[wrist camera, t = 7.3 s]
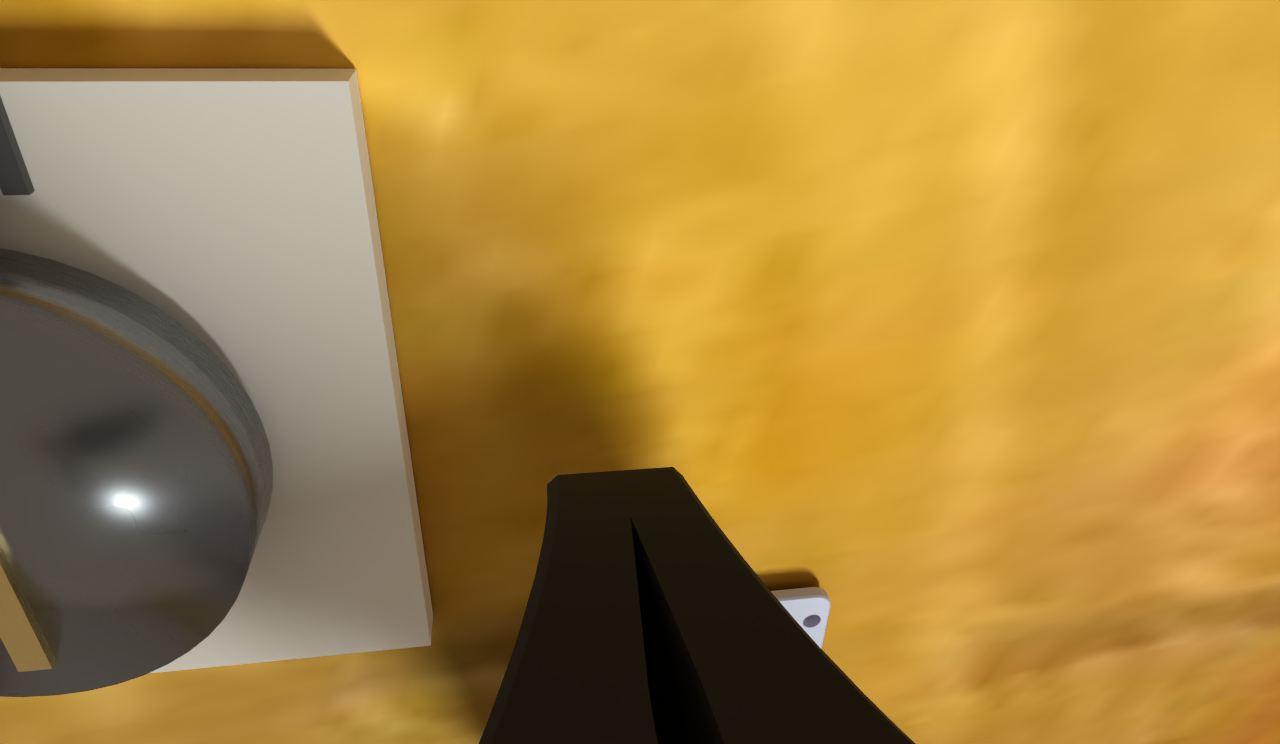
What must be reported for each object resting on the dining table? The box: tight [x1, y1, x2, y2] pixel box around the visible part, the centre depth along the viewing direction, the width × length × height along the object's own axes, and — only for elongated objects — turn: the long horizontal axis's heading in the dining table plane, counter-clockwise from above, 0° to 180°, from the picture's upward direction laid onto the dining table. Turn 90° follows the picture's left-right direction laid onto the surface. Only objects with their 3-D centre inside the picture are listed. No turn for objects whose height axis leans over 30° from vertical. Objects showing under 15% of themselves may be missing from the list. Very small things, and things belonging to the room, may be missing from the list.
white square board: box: [0, 68, 433, 673], centre depth 17 cm, size 14×14×1 cm
